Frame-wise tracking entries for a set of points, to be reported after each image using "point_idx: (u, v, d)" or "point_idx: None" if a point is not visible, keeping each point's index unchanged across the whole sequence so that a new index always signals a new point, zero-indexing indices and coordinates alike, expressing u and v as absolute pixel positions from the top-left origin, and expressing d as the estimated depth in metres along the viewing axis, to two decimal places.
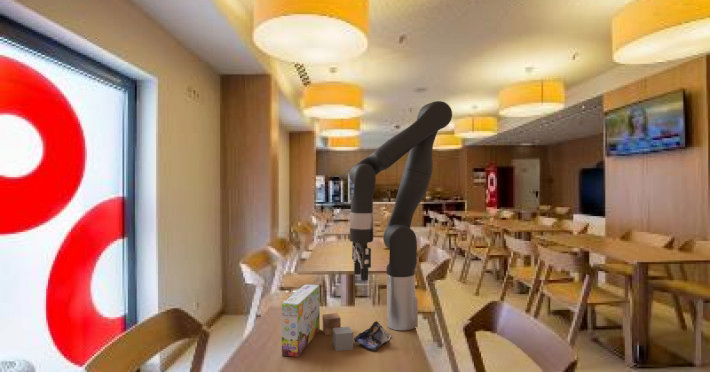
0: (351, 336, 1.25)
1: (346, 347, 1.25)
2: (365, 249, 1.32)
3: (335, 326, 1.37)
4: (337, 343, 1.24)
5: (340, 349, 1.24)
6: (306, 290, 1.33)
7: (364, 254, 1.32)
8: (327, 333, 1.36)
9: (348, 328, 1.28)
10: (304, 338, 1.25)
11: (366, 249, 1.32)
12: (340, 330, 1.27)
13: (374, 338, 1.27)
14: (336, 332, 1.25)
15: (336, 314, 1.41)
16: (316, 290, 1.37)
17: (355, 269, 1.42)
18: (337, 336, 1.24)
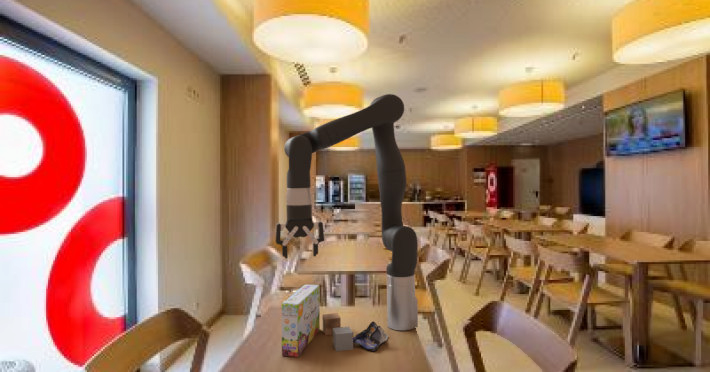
0: (351, 336, 1.25)
1: (346, 347, 1.25)
2: (321, 222, 1.31)
3: (335, 326, 1.37)
4: (337, 343, 1.24)
5: (340, 349, 1.24)
6: (306, 290, 1.33)
7: None
8: (327, 333, 1.36)
9: (348, 328, 1.28)
10: (304, 338, 1.25)
11: (321, 222, 1.31)
12: (340, 330, 1.27)
13: (372, 338, 1.26)
14: (336, 332, 1.25)
15: (336, 314, 1.41)
16: (316, 290, 1.37)
17: None
18: (337, 336, 1.24)
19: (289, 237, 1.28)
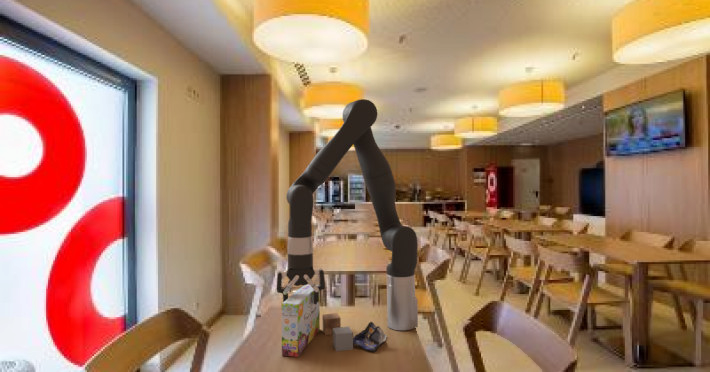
0: (351, 336, 1.25)
1: (346, 347, 1.25)
2: (322, 270, 1.31)
3: (335, 326, 1.37)
4: (337, 343, 1.24)
5: (340, 349, 1.24)
6: (306, 290, 1.33)
7: None
8: (327, 333, 1.36)
9: (348, 328, 1.28)
10: (304, 338, 1.25)
11: None
12: (340, 330, 1.27)
13: (372, 339, 1.26)
14: (336, 332, 1.25)
15: (336, 314, 1.41)
16: None
17: None
18: (337, 336, 1.24)
19: (290, 286, 1.28)
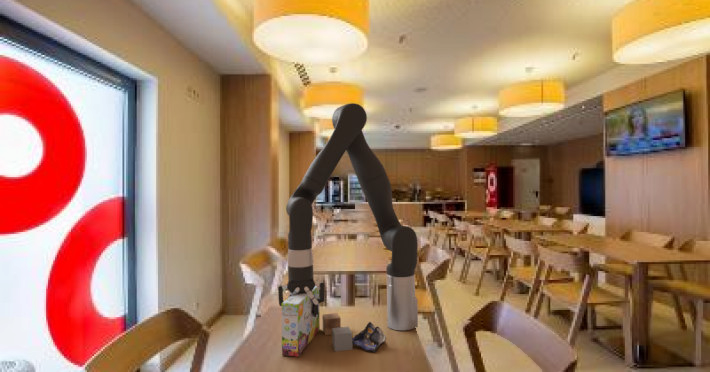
0: (350, 336, 1.25)
1: (345, 347, 1.25)
2: (323, 283, 1.32)
3: (335, 326, 1.37)
4: (336, 343, 1.24)
5: (339, 349, 1.24)
6: None
7: None
8: (327, 333, 1.36)
9: (347, 328, 1.28)
10: (304, 338, 1.25)
11: None
12: (340, 330, 1.27)
13: (371, 339, 1.26)
14: (335, 332, 1.25)
15: (336, 314, 1.41)
16: (316, 290, 1.37)
17: None
18: (336, 336, 1.24)
19: None
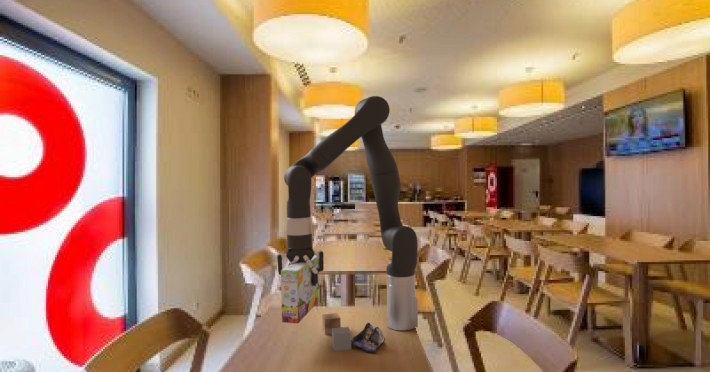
0: (349, 336, 1.25)
1: (344, 347, 1.24)
2: (322, 252, 1.31)
3: (335, 326, 1.37)
4: (335, 343, 1.24)
5: (338, 349, 1.24)
6: None
7: None
8: (327, 333, 1.36)
9: (347, 328, 1.28)
10: (304, 306, 1.25)
11: None
12: (339, 330, 1.27)
13: (371, 340, 1.25)
14: (334, 332, 1.25)
15: (336, 314, 1.41)
16: (315, 260, 1.36)
17: None
18: (335, 336, 1.24)
19: None
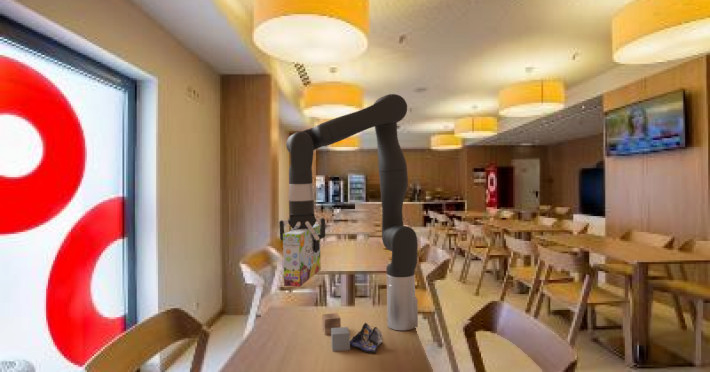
0: (348, 337, 1.24)
1: (343, 347, 1.24)
2: (324, 219, 1.32)
3: (335, 326, 1.37)
4: (333, 343, 1.24)
5: (337, 349, 1.24)
6: None
7: None
8: (327, 333, 1.36)
9: (346, 328, 1.28)
10: (306, 271, 1.25)
11: None
12: (338, 330, 1.27)
13: (370, 340, 1.25)
14: (333, 332, 1.25)
15: (336, 314, 1.41)
16: (317, 228, 1.37)
17: None
18: (333, 336, 1.24)
19: None
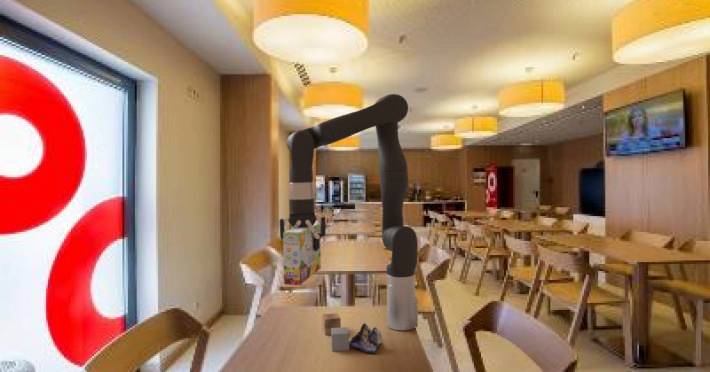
0: (347, 337, 1.24)
1: (342, 347, 1.24)
2: (324, 217, 1.32)
3: (335, 326, 1.37)
4: (333, 343, 1.24)
5: (336, 349, 1.24)
6: None
7: None
8: (327, 333, 1.36)
9: (346, 329, 1.28)
10: (306, 269, 1.25)
11: None
12: (338, 330, 1.27)
13: (370, 340, 1.25)
14: (333, 332, 1.25)
15: (336, 314, 1.41)
16: (317, 227, 1.37)
17: None
18: (333, 336, 1.24)
19: None
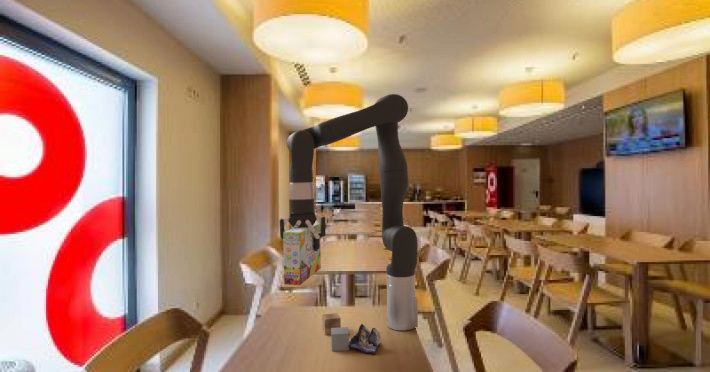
0: (347, 337, 1.24)
1: (342, 348, 1.24)
2: (324, 217, 1.32)
3: (335, 326, 1.37)
4: (333, 343, 1.24)
5: (336, 349, 1.24)
6: None
7: None
8: (327, 333, 1.36)
9: (346, 329, 1.28)
10: (306, 269, 1.25)
11: None
12: (338, 330, 1.27)
13: (369, 341, 1.25)
14: (333, 332, 1.25)
15: (336, 314, 1.41)
16: (317, 227, 1.37)
17: None
18: (333, 336, 1.24)
19: None
